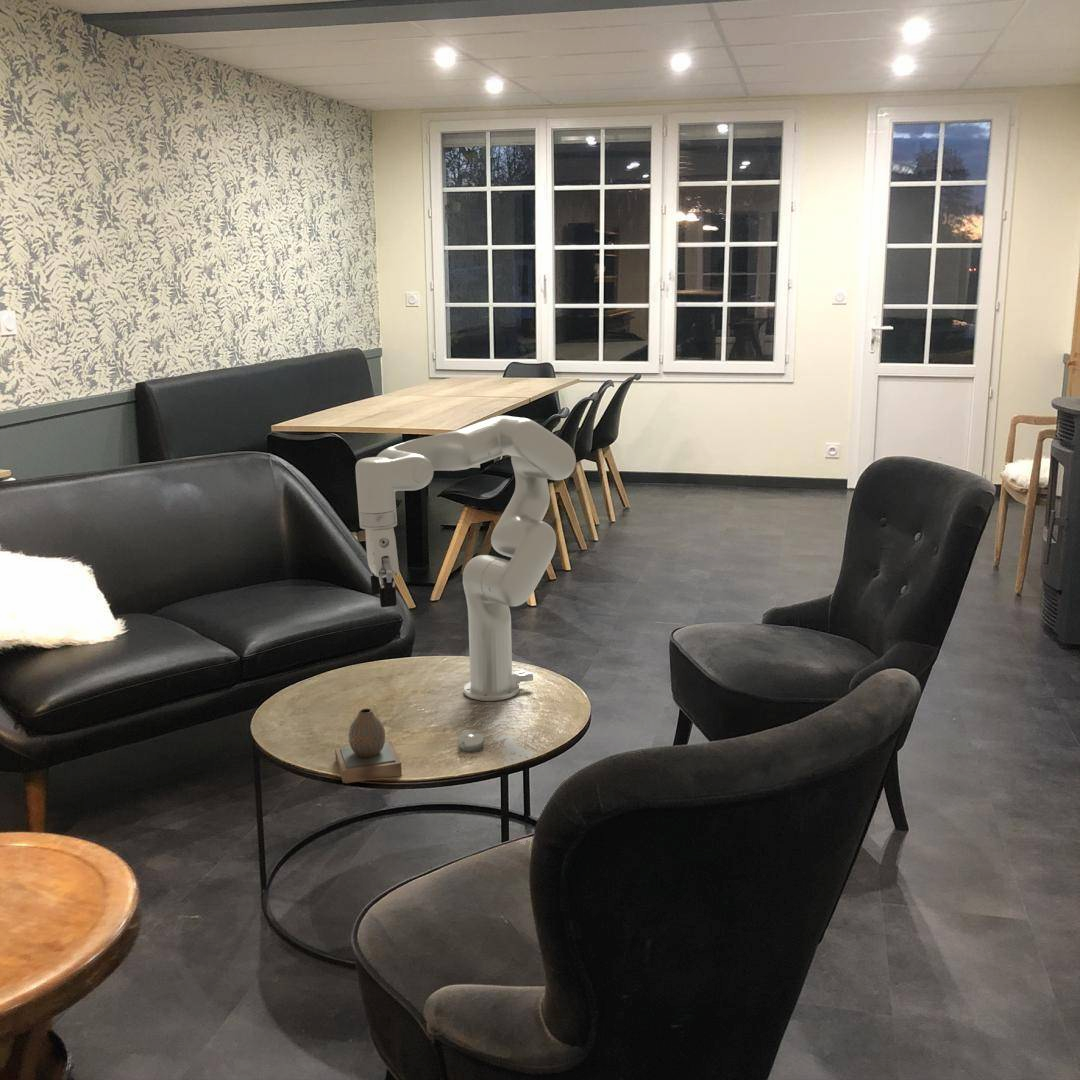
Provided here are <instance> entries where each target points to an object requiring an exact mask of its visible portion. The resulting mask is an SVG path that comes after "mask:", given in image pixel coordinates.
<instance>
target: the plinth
mask: <svg viewBox="0 0 1080 1080" xmlns="http://www.w3.org/2000/svg"><path fill="white" fill-rule="evenodd" d="M334 753H335V754H334V755H335V762H336V765H337V766H336V767H338V768H337V769H338V771H339V774H340V779H341V781H342V784H343V783H345V784H351V783H355V782H356V783H357V782H364V781H365V782H366V781H371V780H379V779H385V778H392V777H399V775H400V776H402V773H403V772H402V761H401V759H400V757H399V756H398V754H397V751H396V749H395V747H394V744H393V743H392V741H391V740H389V741H385V743H384V746H383V748H382V750H381V751H380V752H379V753H378V754H377V755H376V756H373V757H368V758H364V757H360V756H358V755H357V754H355V753H354V751H353V750H352V748H351V746H350V745H349V746H345V747H336V748H335V749H334Z"/></svg>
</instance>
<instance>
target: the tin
mask: <svg viewBox="0 0 1080 1080" xmlns="http://www.w3.org/2000/svg"><path fill="white" fill-rule="evenodd" d="M457 741H458V743H457V744H458V751H460V752H462V753H463V754H475V753H479V752H482V751H483V750H484V748H485V747H484V746H485V745H484V742H485V741H484V733H483V731H481V730H478V729H465V730H462V731H460V732H458V734H457Z"/></svg>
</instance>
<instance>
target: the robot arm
mask: <svg viewBox="0 0 1080 1080" xmlns="http://www.w3.org/2000/svg"><path fill="white" fill-rule="evenodd" d="M503 456H510V460H511V465H512V468H513V473H514V477H515V478H514V479H515V488H514V492H513V494H512V497H511V498H510V501H509V502H508V504H507V506H506V507H505V509H504V511H503V513H502V514H501V516H500V518H499V520H498V522H497V523H496V525H495V527H494V529H493V531H492V534H491V536H490V537H491V538H490V543H491V546H492V548H493V549H494V550H495V552H497V553H498V554H500V555H502V556H506V557H509V558H511V559H510V560H508V559H505V558H501V557H497V556H495V555H493V556H492V555H489V554H480V555H477V556H474V557H473V558H471V559H470V560H469V561H468V562H467V563H466V564H465V566H464V569H463V571H462V586H463V591H464V595H465V599H466V605H467V618H468V620H467V621H468V643H469V644H468V645H469V646H468V649H469V651H468V653H469V674H470V675H469V677H470V679H469V680H470V681H469V682H467V683H466V684H464V686H463V694H464V695H465V696H466V697H468V698H470V699H473V700H477V701H483V702H494V701H502V700H507V699H511V698H513V697H514V696H516V695H518V694H519V692H520V684H521V682H532V681H534V675H533V673H532V672H525V670H521V671H520V670H519V671H514V670H513V659H512V657H513V653H512V652H513V651H512V650H513V649H512V646H513V645H512V616H511V610H510V607H519V606H521V605H524V603H526V602H527V601H528V600H529V599H530V597H531V596H533V594H534V591H535V590H536V588H537V586H538V585H539V583H540V581H541V579H542V577H543V575H544V574H545V572H546V570H547V568H548V567H549V565H550V563H551V561H552V558H554V555H555V551H556V549H557V548H556V547H557V536H556V531H555V530H554V528H553V527H552V526H551V525H550V524H549V523H547V522H546V521H543V520H544V517H545V515H546V514H547V511H548V509H549V508H550V507H549V506H550V500H551V493H550V488H549V483H548V480H551V481H562V480H565V479H567V478H569V477H570V476H571V475H572V474H573V472H574V471H575V468H576V465H577V459H576V453H575V452H574V450H573V448H572V446H570V445H569V443H567V442H566V441H565V440H563V439H562V438H560V437H559V436H557V435H556V434H554V433H552V432H551V431H550V430H549V429H547V428H545V427H544V426H542V425H541V424H539V423H538V422H536V421H535V420H532V419H530V418H526V417H519V416H511V415H497V416H494V417H490V418H487V419H484V420H481V421H479V422H476V423H474V424H471V425H468V426H465V427H462V428H459V429H456V430H452V431H449V432H442V433H438V434H434V435H429V436H424V437H418V438H415V439H414V438H413V439H410V440H407V441H405V442H404V441H403V442H401V443H398V444H395V445H393V446H392V445H391V446H389V447H387V448H385V449H383V450H382V451H380V452H378V454H377V455H376V456H371V457H365V458H361V459H359V460H357V462H356V463H355V483H356V494H357V495H356V496H357V505H358V507H357V508H358V519H359V528H360V529H362V530H365V532H364V533H365V545H366V546H365V548H366V559H367V565H368V568H369V570H370V576H369V577H370V586H371V594H372V595H373V596H375V595H379V605H380V607H381V608H389V607H395V606H397V593H396V592H397V591H396V582H395V577H394V575H395V576H398V575H399V574H400V567H399V559H398V548H397V540H396V535H395V531H394V530H395V529H394V528H395V527H397V525H398V518H397V517H398V516H397V504H396V492H400V491H402V492H403V491H418V490H421V489H423V488H426V487H427V486H428V485H429V484H430V483H431V482H432V479H433V477H434V471H435V472H436V471H442V472H443V471H448V472H450V471H452V472H455V471H462V470H463V471H464V470H468V469H470V468H475V467H476V466H478V465H480V464H483V463H487V462H490V461H491V460H492V461H493V460H495V459H497V458H499V457H503Z"/></svg>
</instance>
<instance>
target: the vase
mask: <svg viewBox="0 0 1080 1080" xmlns="http://www.w3.org/2000/svg"><path fill="white" fill-rule="evenodd" d="M385 742H386V730H385V727H384V724H383V723H382V721H381V719H379V718H378V717H377V716H376V714H375V713H374V712H373V709H371V708H362V709H359V711H358V714H357V716H356V717H355V718H354V719H353V721H352V723H351V725H350V727H349V730H348V743H349V747H350V746H351V748H352V750H353V751H354V753H355V754H357V755H358V756H360V757H364V758H368V757H373V756H376V755H377V754H378V753H379V752H380V751H381V750H382V748H383V746H384V743H385Z"/></svg>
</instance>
